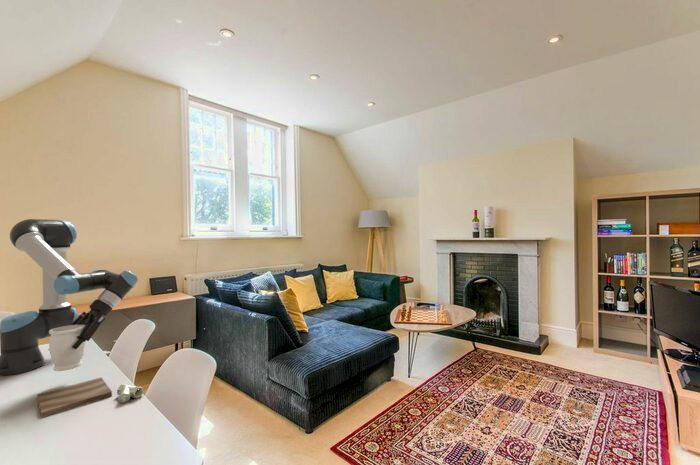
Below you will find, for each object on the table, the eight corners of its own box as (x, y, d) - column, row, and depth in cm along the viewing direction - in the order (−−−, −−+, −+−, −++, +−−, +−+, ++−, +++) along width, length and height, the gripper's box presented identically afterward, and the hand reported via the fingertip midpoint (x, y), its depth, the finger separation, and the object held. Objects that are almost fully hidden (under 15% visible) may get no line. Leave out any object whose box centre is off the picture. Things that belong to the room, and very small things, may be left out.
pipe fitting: (125, 406, 109) (143, 395, 116) (124, 395, 109) (142, 384, 115) (107, 403, 112) (126, 392, 118) (106, 392, 112) (125, 381, 118)
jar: (55, 375, 120) (54, 333, 120) (45, 369, 125) (44, 329, 125) (90, 365, 129) (90, 326, 129) (79, 359, 134) (78, 322, 134)
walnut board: (37, 398, 115) (37, 394, 115) (101, 381, 128) (101, 377, 128) (41, 417, 103) (41, 412, 103) (111, 395, 116) (111, 391, 116)
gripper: (126, 311, 135) (81, 363, 121) (98, 306, 146) (53, 353, 132) (112, 301, 131) (63, 354, 117) (83, 296, 141) (36, 344, 128)
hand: (58, 353), depth 125 cm, fingers closed on jar, 10 cm apart
